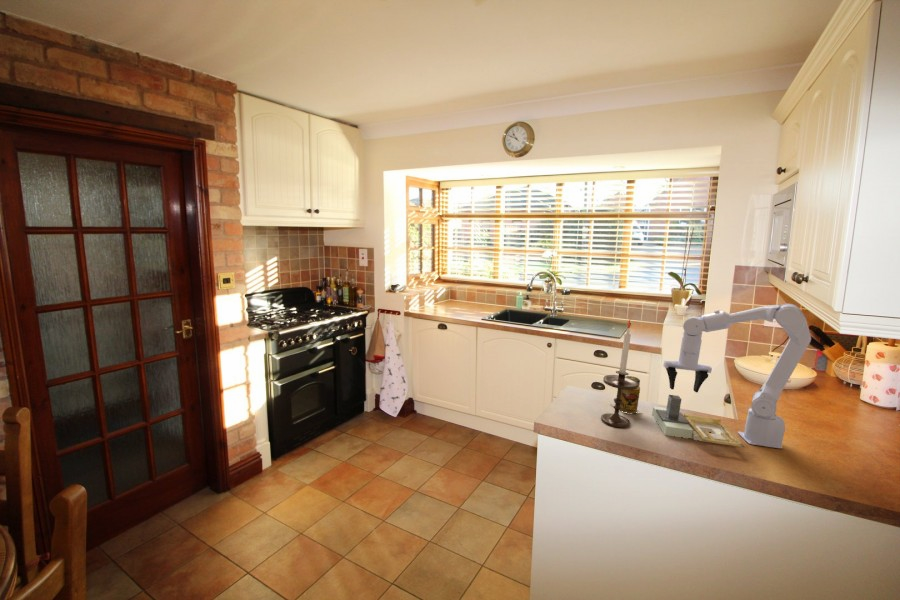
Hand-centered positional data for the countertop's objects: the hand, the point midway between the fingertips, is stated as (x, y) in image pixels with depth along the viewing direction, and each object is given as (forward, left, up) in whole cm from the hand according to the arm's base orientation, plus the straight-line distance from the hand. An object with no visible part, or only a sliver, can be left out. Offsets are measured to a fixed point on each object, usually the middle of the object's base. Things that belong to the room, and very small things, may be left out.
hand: (683, 389), depth 148 cm
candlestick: (+23, +11, -11) cm, 28 cm away
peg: (+5, +8, -9) cm, 13 cm away
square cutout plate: (+5, +8, -10) cm, 14 cm away
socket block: (-5, +11, -10) cm, 16 cm away
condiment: (+17, -2, -11) cm, 20 cm away
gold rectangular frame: (-5, +14, -9) cm, 17 cm away
